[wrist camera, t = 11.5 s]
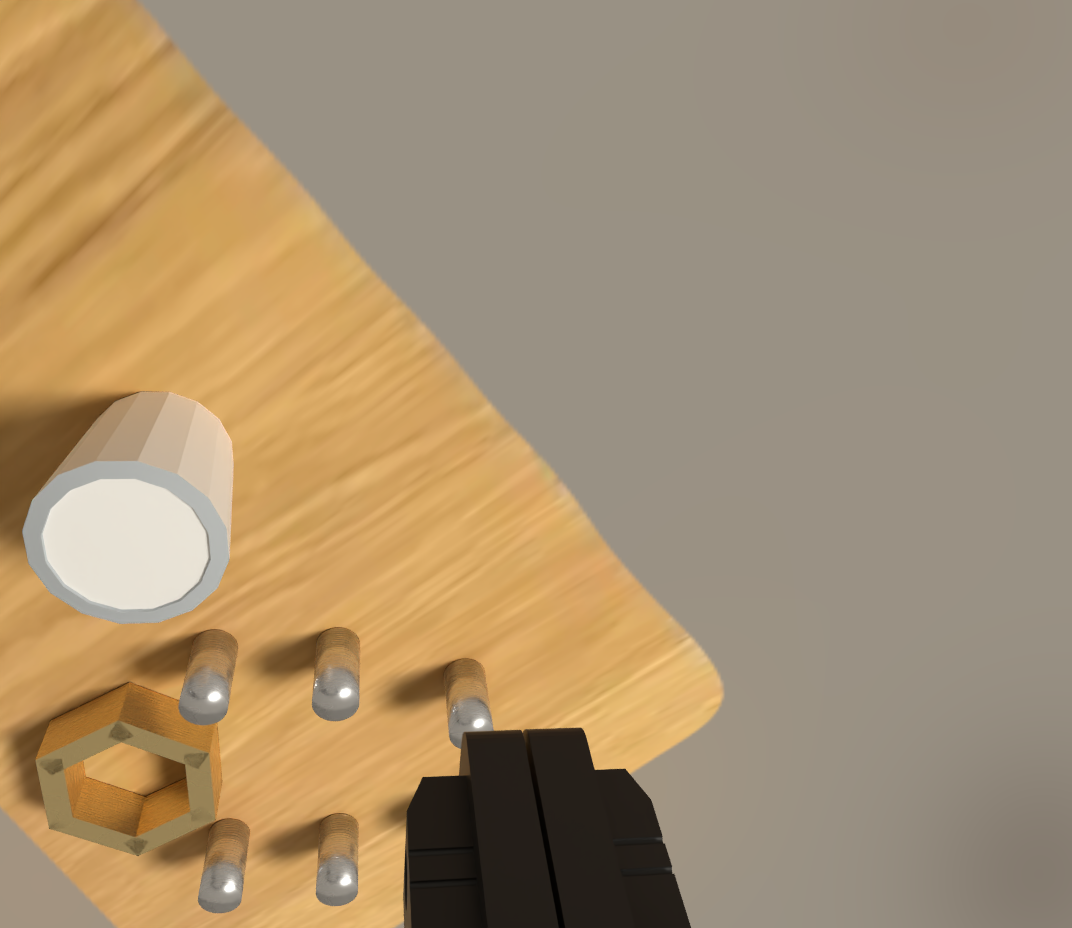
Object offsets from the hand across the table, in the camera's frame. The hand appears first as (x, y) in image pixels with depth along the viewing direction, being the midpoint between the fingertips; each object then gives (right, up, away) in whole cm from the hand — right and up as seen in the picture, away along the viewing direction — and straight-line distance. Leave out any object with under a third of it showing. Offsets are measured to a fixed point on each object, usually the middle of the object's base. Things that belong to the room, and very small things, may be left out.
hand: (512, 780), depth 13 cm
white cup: (-15, +5, +29) cm, 33 cm away
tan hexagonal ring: (-19, -10, +36) cm, 42 cm away
